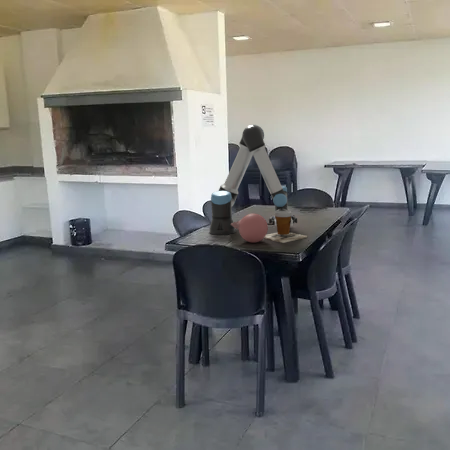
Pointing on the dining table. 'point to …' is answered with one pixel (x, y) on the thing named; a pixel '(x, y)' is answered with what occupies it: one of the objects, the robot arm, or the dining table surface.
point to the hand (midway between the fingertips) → (283, 223)
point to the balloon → (252, 227)
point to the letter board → (284, 237)
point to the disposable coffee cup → (283, 221)
